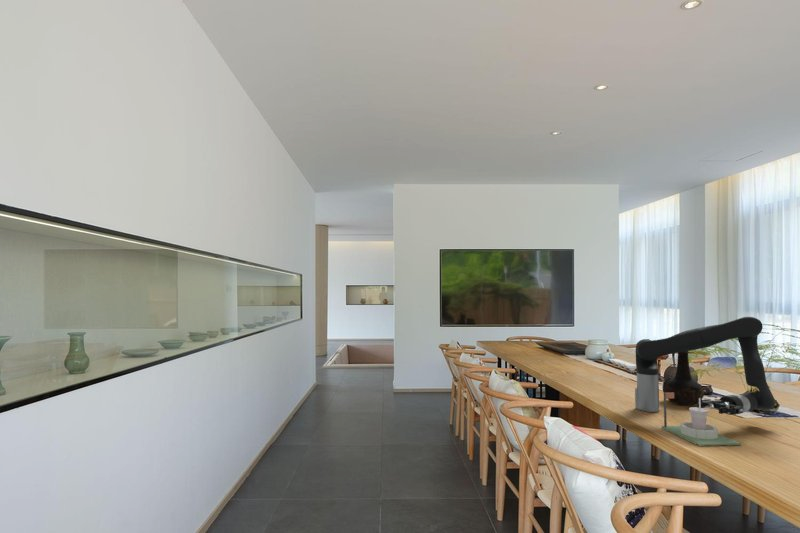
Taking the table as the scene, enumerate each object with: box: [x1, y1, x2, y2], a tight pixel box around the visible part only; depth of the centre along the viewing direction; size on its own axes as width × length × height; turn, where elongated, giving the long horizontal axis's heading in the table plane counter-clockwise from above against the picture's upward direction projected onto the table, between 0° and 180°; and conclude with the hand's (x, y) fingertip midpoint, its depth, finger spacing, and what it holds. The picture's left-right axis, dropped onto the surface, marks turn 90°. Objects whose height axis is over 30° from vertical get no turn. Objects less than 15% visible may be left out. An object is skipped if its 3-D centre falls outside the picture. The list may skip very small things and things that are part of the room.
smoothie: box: [688, 398, 709, 430], centre depth 182 cm, size 6×6×14 cm
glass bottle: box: [662, 351, 705, 407], centre depth 233 cm, size 18×18×28 cm
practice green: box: [661, 392, 742, 446], centre depth 182 cm, size 22×16×15 cm
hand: (708, 408), depth 185 cm, fingers open, 8 cm apart
